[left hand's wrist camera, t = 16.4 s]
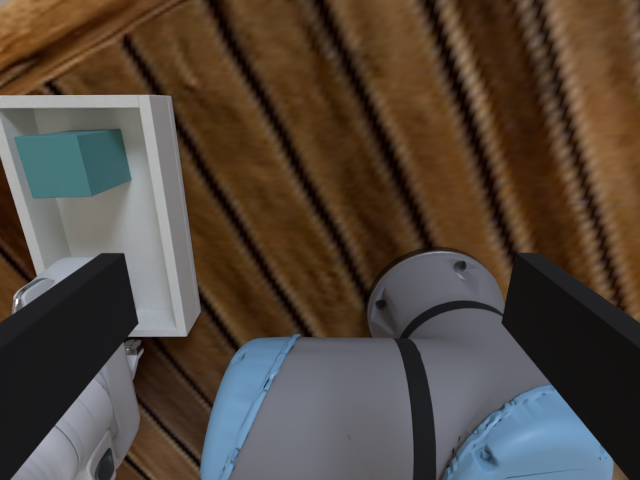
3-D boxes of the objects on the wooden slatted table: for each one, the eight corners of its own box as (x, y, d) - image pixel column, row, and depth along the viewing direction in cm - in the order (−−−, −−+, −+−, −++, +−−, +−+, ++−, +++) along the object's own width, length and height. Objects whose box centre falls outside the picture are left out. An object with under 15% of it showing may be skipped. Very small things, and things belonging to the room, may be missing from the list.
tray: (26, 96, 35) (-19, 95, 31) (171, 96, 35) (148, 94, 30) (84, 312, 44) (55, 337, 39) (201, 311, 44) (186, 336, 39)
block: (121, 128, 35) (75, 134, 29) (132, 180, 37) (91, 196, 30) (69, 130, 35) (12, 136, 29) (83, 181, 37) (32, 198, 31)
